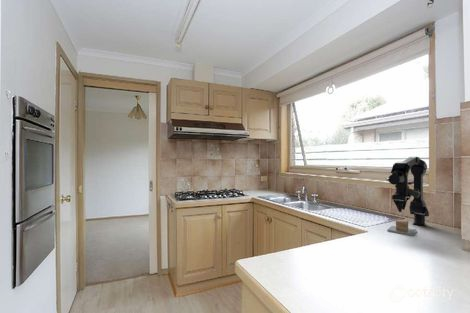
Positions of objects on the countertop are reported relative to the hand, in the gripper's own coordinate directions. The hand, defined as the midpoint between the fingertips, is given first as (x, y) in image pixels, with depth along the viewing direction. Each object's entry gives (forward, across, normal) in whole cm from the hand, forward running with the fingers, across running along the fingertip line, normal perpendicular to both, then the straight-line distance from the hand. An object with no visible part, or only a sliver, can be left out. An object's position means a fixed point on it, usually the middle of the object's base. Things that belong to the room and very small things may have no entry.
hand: (401, 210), depth 137 cm
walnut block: (+11, 0, 0) cm, 11 cm away
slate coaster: (+12, 0, 0) cm, 12 cm away
